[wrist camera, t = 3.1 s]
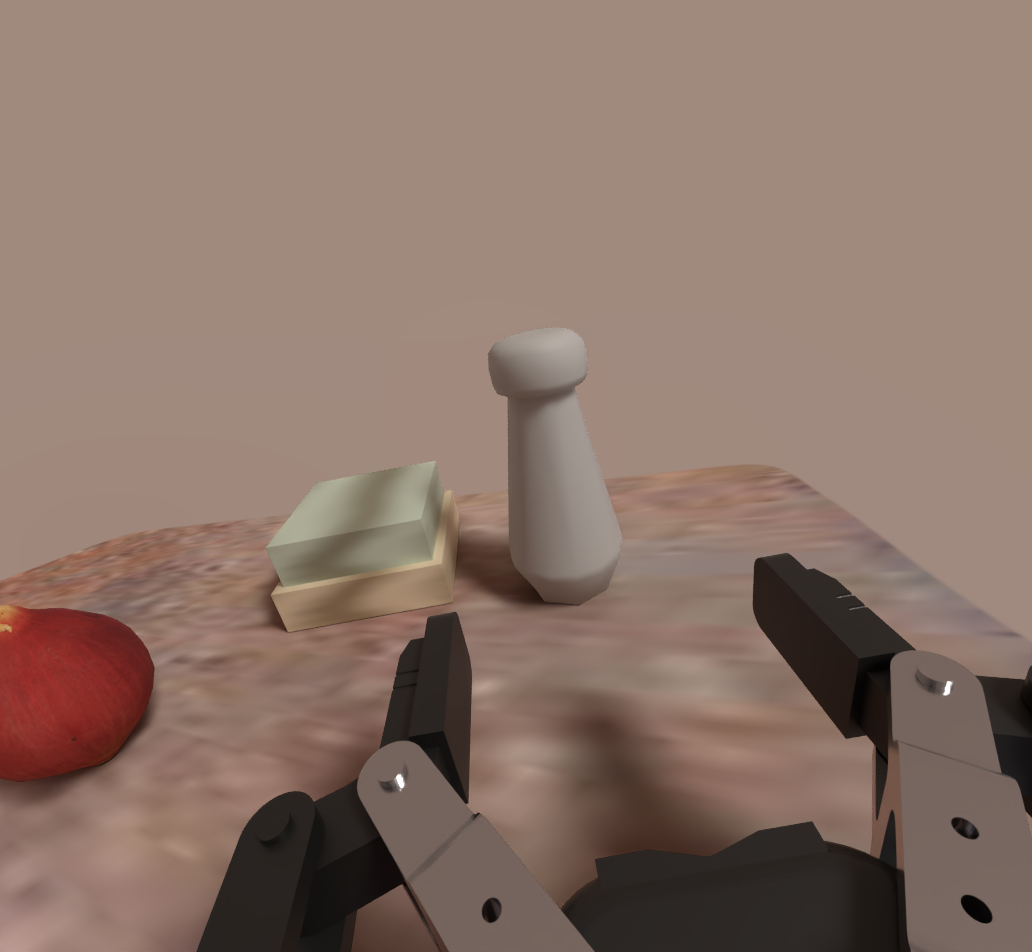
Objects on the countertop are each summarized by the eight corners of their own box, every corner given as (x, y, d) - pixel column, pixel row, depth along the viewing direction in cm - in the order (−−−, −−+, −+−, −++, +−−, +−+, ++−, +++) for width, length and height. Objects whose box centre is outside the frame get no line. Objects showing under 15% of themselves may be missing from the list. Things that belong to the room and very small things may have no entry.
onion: (43, 744, 21) (-76, 602, 18) (188, 677, 24) (106, 541, 21) (-7, 865, 17) (-179, 701, 13) (181, 766, 19) (73, 607, 16)
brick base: (288, 632, 26) (251, 555, 24) (335, 543, 34) (311, 481, 32) (452, 602, 25) (429, 522, 23) (459, 521, 34) (443, 456, 32)
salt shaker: (512, 560, 28) (466, 336, 23) (607, 541, 28) (582, 314, 23) (524, 628, 23) (467, 356, 17) (641, 603, 23) (618, 326, 18)
